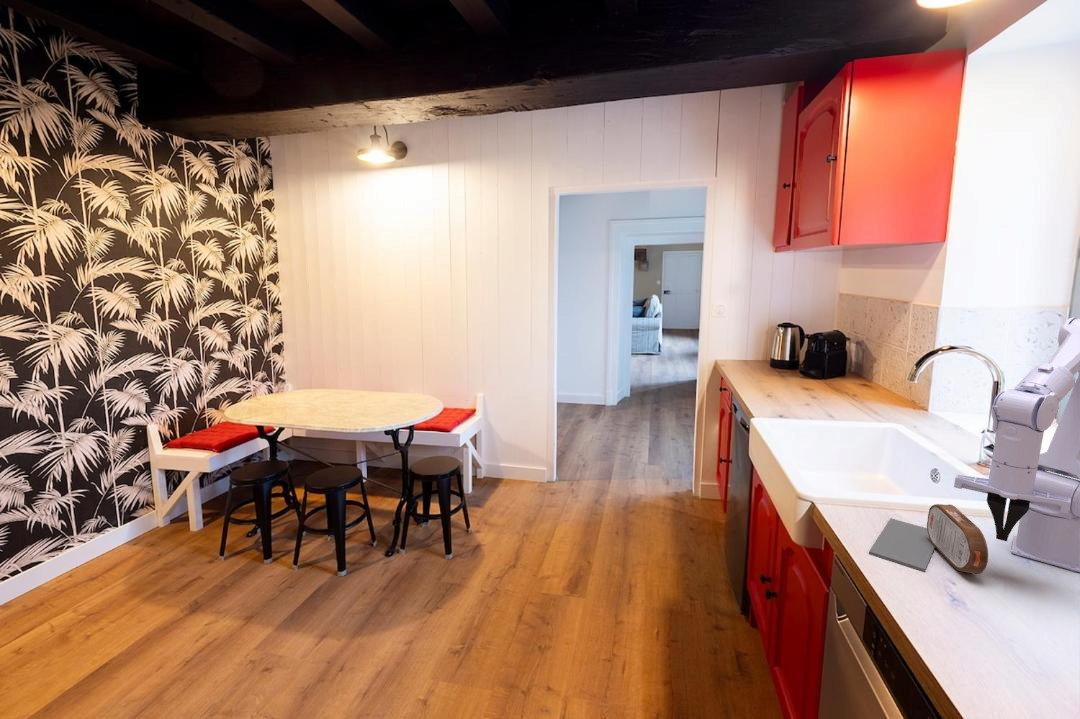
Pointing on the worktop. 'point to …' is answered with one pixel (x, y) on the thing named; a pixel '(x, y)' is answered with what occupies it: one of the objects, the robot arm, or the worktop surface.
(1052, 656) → the worktop surface
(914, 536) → the mat
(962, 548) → the tin
